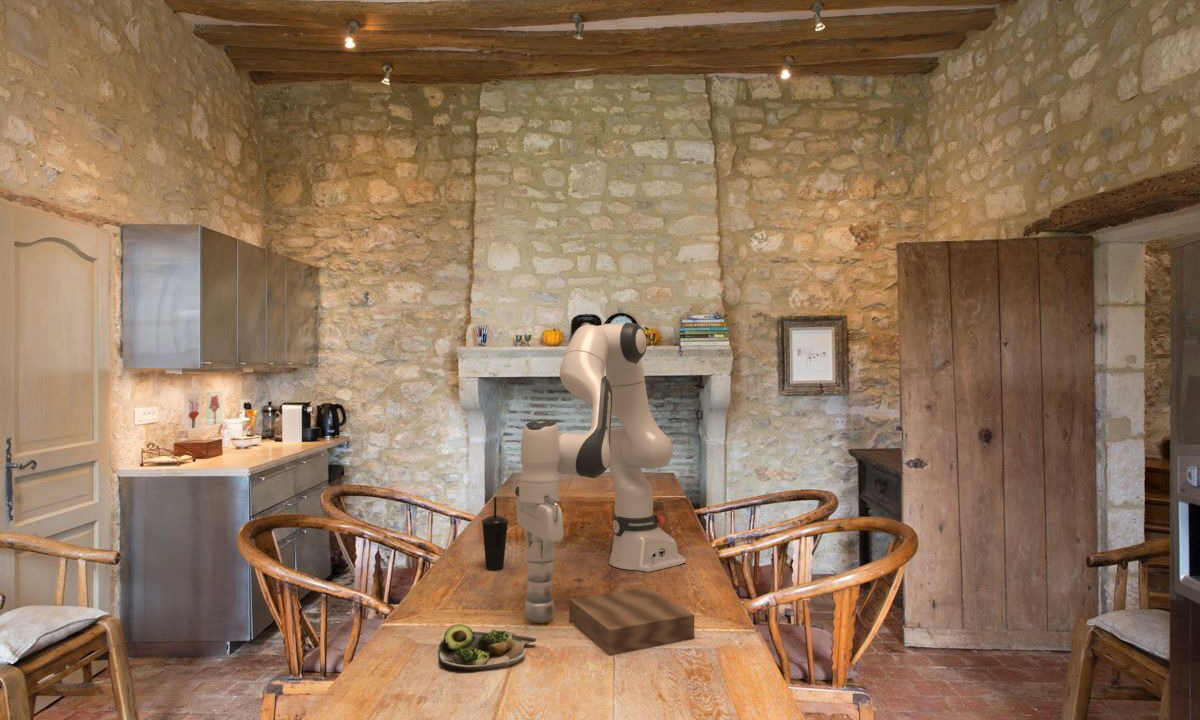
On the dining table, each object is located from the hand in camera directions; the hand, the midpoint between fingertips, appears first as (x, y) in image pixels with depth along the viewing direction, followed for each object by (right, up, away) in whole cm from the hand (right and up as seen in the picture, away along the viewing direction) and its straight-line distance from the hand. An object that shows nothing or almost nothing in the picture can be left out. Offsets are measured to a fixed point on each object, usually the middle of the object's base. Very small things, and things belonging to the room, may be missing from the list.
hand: (538, 554), depth 155 cm
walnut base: (+20, -15, -5) cm, 26 cm away
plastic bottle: (0, -15, 0) cm, 15 cm away
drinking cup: (-16, -15, +40) cm, 46 cm away
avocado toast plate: (-10, -15, -17) cm, 25 cm away
